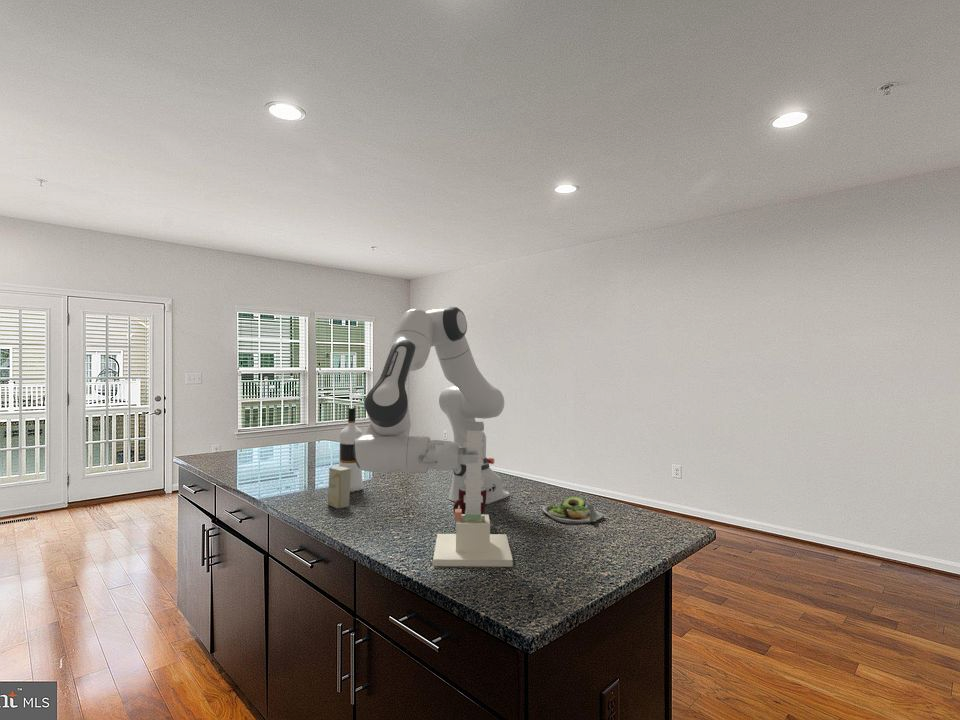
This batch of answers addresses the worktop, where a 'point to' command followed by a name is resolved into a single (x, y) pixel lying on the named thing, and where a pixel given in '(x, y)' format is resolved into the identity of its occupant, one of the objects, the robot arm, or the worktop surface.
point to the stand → (472, 545)
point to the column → (473, 472)
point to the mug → (463, 505)
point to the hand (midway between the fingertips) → (477, 455)
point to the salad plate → (572, 511)
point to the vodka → (350, 451)
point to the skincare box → (339, 487)
